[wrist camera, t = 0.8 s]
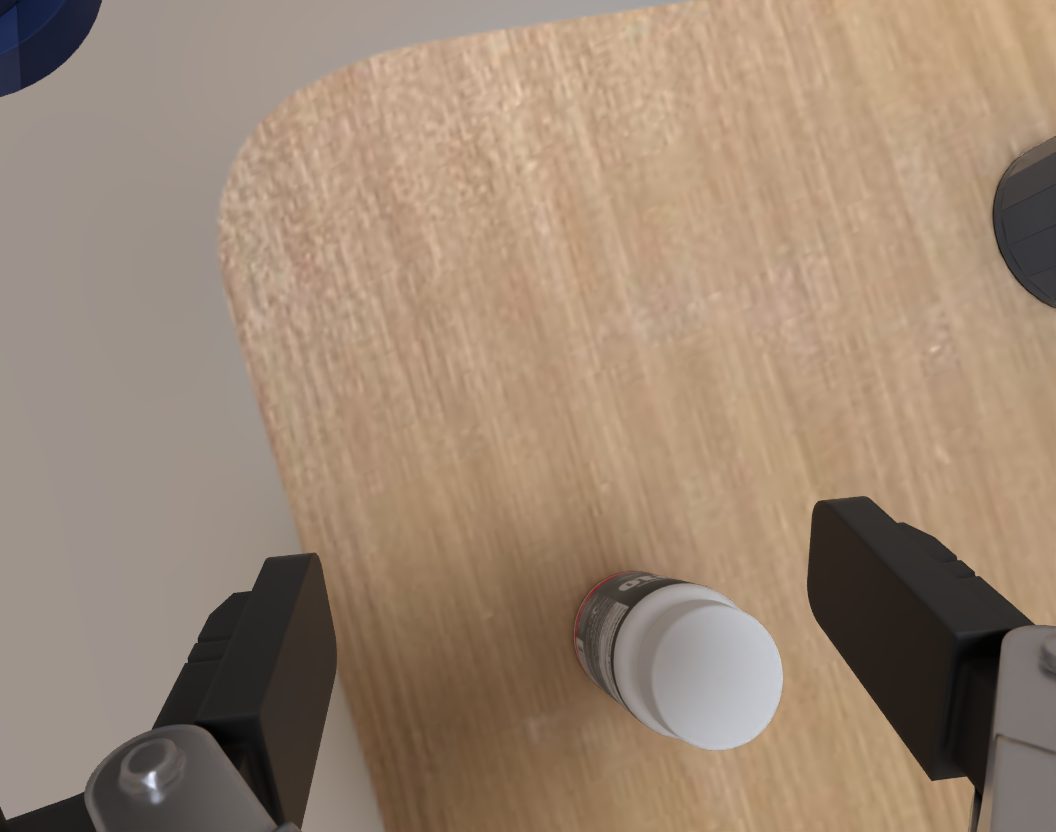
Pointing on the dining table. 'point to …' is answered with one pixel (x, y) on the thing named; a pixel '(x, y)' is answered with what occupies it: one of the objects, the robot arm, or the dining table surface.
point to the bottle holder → (1030, 220)
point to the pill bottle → (680, 658)
